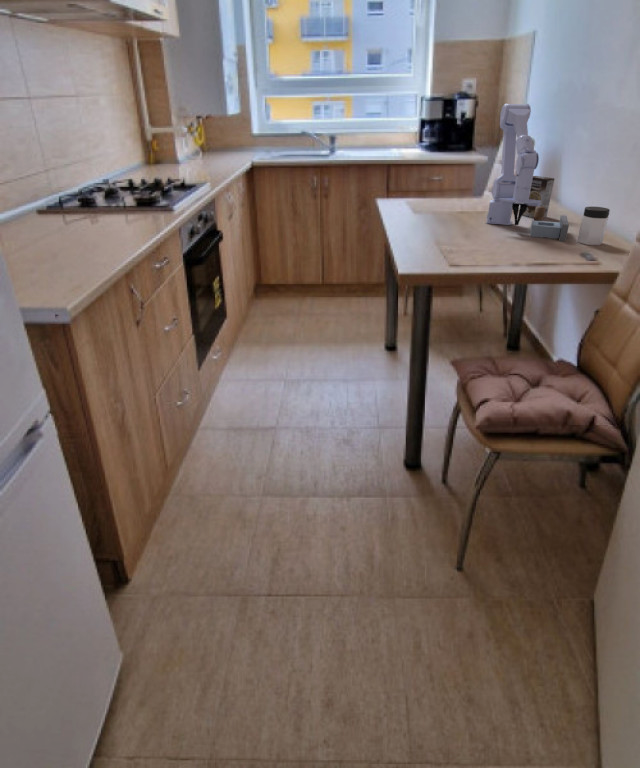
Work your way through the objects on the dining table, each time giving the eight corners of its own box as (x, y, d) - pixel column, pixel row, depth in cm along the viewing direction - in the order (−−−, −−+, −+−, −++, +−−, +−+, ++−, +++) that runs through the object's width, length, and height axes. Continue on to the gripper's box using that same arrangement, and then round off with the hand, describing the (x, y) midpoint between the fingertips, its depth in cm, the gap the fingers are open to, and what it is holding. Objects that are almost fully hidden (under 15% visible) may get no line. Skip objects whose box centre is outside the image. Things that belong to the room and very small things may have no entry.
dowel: (532, 228, 228) (535, 207, 224) (532, 226, 231) (535, 205, 227) (541, 229, 227) (545, 208, 223) (541, 227, 230) (545, 206, 226)
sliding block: (530, 236, 215) (532, 225, 213) (530, 230, 224) (532, 220, 222) (558, 238, 213) (560, 227, 211) (557, 233, 221) (559, 222, 219)
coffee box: (520, 215, 251) (527, 176, 243) (528, 213, 254) (535, 175, 247) (539, 218, 245) (547, 179, 237) (547, 217, 248) (555, 177, 241)
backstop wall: (559, 241, 209) (562, 224, 206) (557, 230, 224) (560, 215, 222) (565, 241, 209) (568, 224, 206) (563, 231, 224) (566, 215, 221)
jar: (607, 244, 206) (616, 209, 201) (591, 246, 203) (599, 211, 197) (587, 238, 213) (595, 205, 208) (571, 240, 210) (579, 207, 204)
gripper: (502, 187, 212) (496, 225, 218) (543, 190, 208) (536, 228, 214) (503, 184, 218) (497, 221, 224) (543, 187, 214) (536, 224, 220)
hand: (516, 224), depth 220 cm, fingers closed
